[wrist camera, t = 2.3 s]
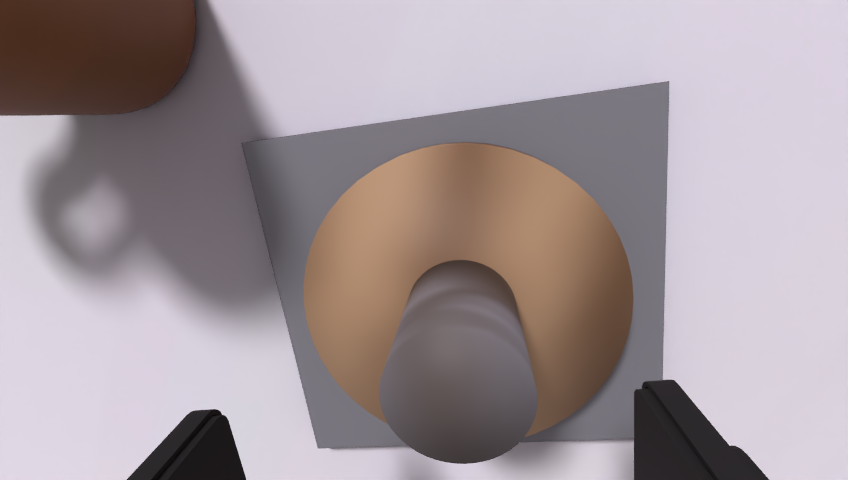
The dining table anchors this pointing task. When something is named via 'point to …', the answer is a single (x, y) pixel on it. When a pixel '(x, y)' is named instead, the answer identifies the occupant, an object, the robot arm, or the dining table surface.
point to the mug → (91, 54)
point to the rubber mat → (504, 126)
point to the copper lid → (468, 297)
